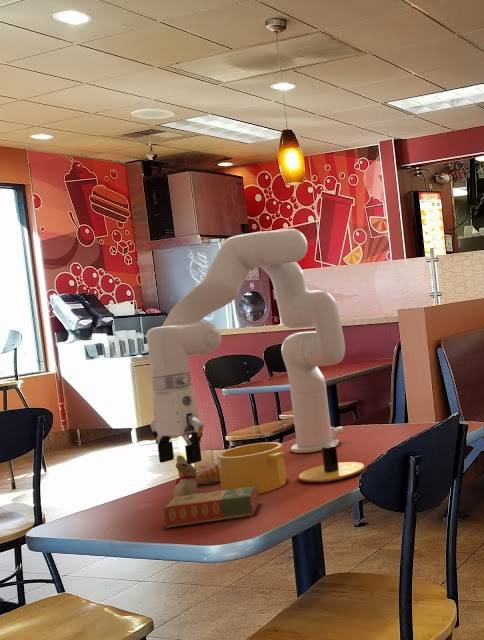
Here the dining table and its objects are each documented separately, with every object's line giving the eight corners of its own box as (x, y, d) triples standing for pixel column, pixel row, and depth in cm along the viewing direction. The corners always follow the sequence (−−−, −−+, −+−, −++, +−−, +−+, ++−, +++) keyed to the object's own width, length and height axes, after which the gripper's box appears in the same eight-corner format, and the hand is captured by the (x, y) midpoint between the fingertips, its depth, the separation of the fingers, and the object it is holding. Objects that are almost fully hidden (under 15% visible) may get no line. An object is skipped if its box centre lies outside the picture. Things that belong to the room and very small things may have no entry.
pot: (250, 476, 176) (246, 441, 176) (307, 480, 166) (302, 443, 166) (201, 494, 165) (196, 456, 165) (258, 499, 155) (253, 459, 154)
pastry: (201, 487, 171) (199, 471, 171) (192, 483, 176) (190, 467, 176) (241, 477, 177) (239, 461, 177) (231, 474, 182) (229, 458, 182)
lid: (332, 465, 179) (328, 438, 179) (377, 467, 171) (374, 439, 171) (285, 482, 167) (281, 453, 166) (332, 486, 159) (328, 455, 158)
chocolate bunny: (209, 494, 164) (203, 449, 163) (181, 505, 157) (175, 458, 156) (190, 494, 166) (185, 449, 166) (162, 505, 159) (156, 459, 159)
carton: (177, 516, 148) (174, 495, 148) (259, 504, 151) (257, 483, 150) (165, 529, 140) (162, 506, 140) (253, 516, 142) (250, 494, 142)
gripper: (211, 379, 159) (220, 458, 159) (163, 381, 168) (171, 456, 169) (180, 385, 153) (189, 467, 153) (132, 386, 162) (141, 464, 162)
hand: (180, 461), depth 161 cm, fingers open, 9 cm apart
